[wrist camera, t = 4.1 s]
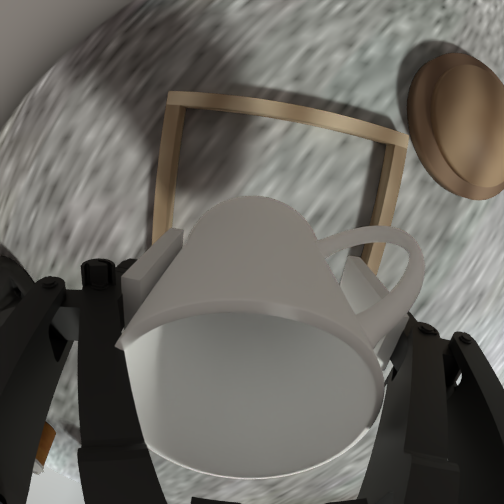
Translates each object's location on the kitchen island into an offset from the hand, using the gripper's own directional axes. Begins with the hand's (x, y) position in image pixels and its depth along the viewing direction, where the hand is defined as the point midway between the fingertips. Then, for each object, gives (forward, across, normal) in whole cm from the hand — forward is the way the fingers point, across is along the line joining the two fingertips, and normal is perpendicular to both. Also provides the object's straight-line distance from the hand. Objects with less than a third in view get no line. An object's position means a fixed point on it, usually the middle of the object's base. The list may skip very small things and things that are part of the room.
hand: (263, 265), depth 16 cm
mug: (+2, +1, 0) cm, 2 cm away
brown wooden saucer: (+10, +19, +14) cm, 26 cm away
